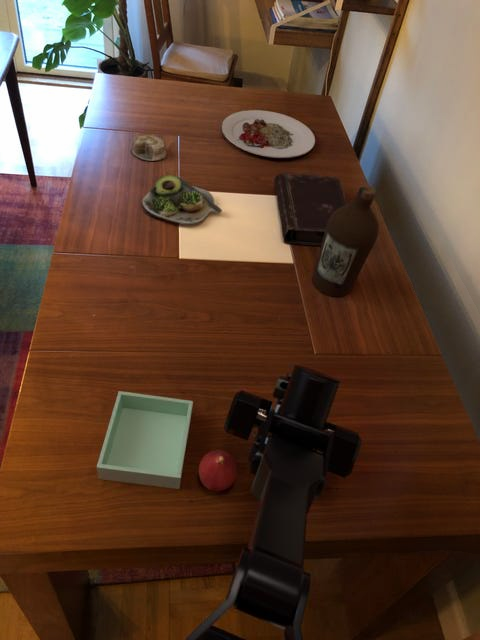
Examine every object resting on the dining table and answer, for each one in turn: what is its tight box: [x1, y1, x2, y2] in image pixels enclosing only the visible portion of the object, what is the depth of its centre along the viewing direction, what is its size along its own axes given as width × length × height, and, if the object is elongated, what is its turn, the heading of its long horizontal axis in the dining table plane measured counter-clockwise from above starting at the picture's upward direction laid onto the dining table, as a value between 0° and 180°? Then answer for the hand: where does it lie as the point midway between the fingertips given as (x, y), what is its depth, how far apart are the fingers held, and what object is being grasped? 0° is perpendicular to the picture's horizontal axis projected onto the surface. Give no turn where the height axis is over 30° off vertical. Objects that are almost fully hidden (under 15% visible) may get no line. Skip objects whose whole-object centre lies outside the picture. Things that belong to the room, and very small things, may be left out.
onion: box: [198, 449, 238, 492], centre depth 72 cm, size 6×6×8 cm
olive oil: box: [311, 184, 380, 298], centre depth 100 cm, size 11×11×25 cm
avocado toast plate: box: [140, 174, 223, 226], centre depth 120 cm, size 19×18×5 cm
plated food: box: [221, 109, 316, 159], centre depth 151 cm, size 30×30×3 cm
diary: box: [273, 172, 348, 247], centre depth 124 cm, size 19×25×5 cm
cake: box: [131, 134, 167, 162], centre depth 135 cm, size 10×10×5 cm
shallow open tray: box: [96, 390, 194, 490], centre depth 75 cm, size 13×12×5 cm
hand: (292, 420), depth 76 cm, fingers closed on water bottle, 6 cm apart
